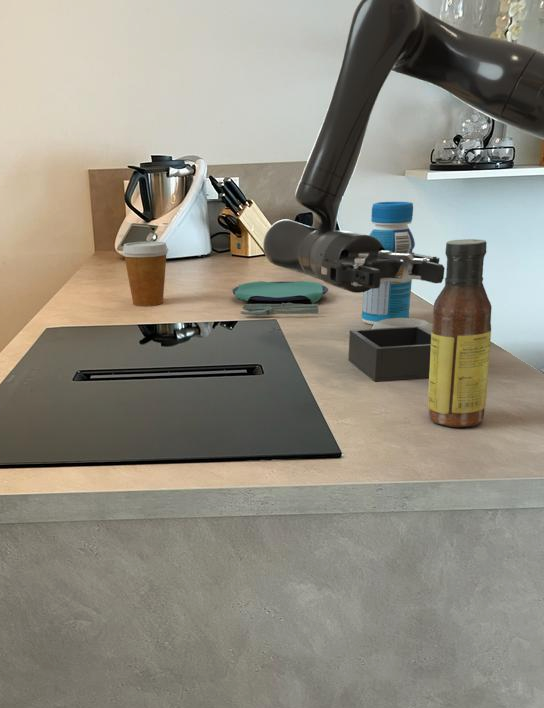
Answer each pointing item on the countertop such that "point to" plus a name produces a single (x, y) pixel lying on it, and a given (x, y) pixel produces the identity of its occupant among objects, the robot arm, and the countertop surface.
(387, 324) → the donut
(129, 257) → the disposable coffee cup
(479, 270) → the sauce bottle
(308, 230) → the robot arm
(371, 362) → the box
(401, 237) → the beverage bottle
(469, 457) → the countertop surface
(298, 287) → the cutlery set
